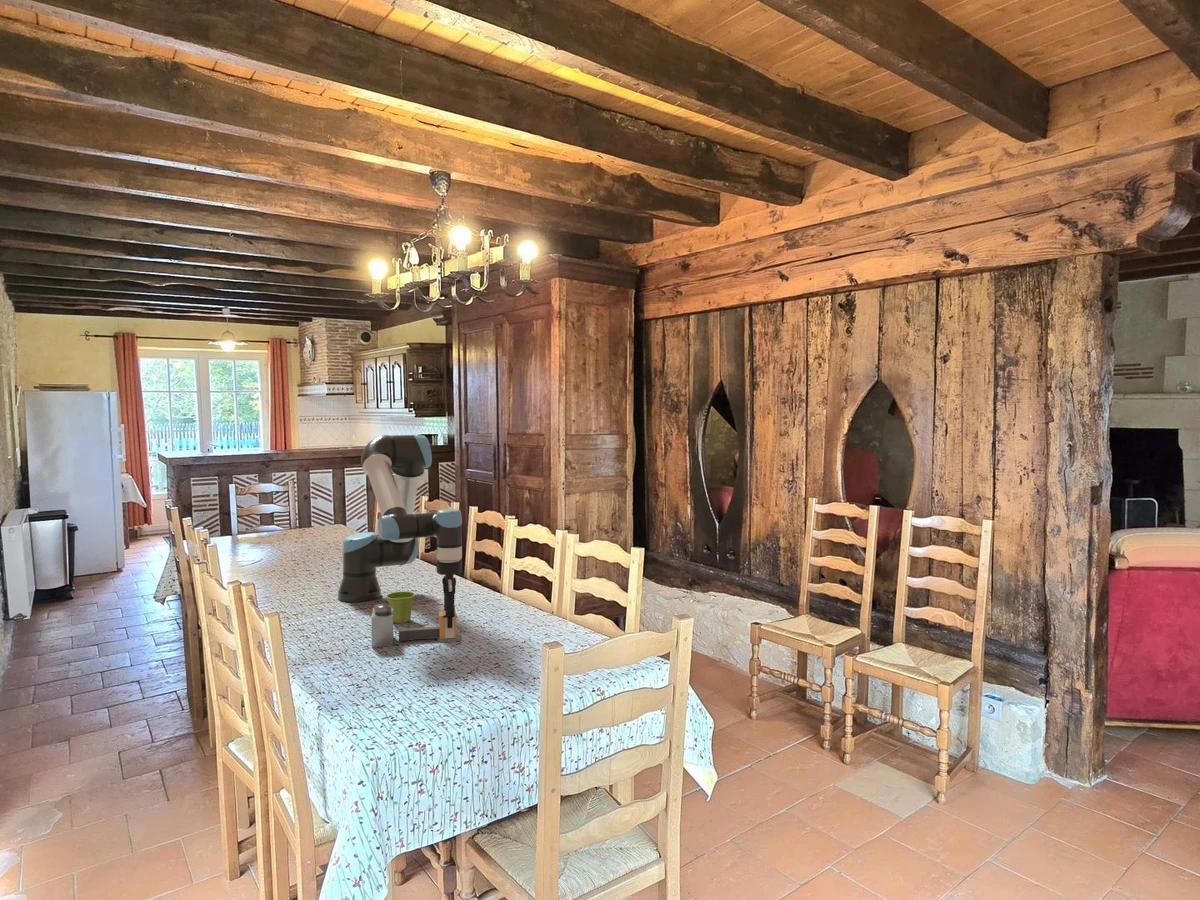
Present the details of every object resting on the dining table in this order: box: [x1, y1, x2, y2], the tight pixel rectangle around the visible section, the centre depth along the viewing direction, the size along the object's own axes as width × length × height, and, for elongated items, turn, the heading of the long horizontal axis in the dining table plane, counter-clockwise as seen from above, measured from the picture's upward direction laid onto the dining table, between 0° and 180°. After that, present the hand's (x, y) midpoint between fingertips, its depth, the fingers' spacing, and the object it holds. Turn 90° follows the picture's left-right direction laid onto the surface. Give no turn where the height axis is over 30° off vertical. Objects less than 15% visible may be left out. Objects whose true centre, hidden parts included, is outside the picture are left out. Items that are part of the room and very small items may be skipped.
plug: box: [398, 610, 458, 642], centre depth 216 cm, size 4×17×7 cm, turn 105°
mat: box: [436, 631, 462, 643], centre depth 218 cm, size 7×7×1 cm
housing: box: [371, 603, 394, 648], centre depth 212 cm, size 9×6×11 cm
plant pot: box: [385, 591, 416, 624], centre depth 234 cm, size 9×9×9 cm
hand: (449, 634), depth 218 cm, fingers open, 5 cm apart
